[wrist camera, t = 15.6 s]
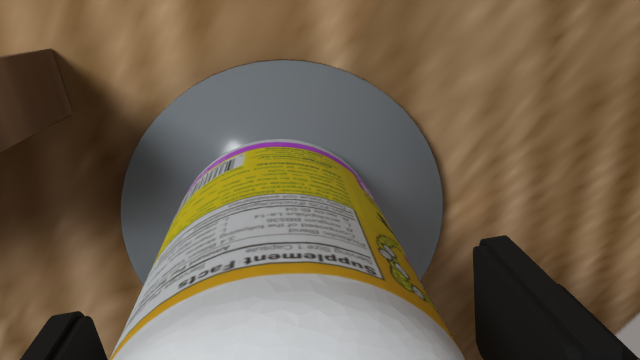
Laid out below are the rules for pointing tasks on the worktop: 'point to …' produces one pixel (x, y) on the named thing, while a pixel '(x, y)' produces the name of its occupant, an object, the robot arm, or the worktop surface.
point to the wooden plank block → (30, 96)
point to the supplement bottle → (282, 269)
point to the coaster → (283, 123)
